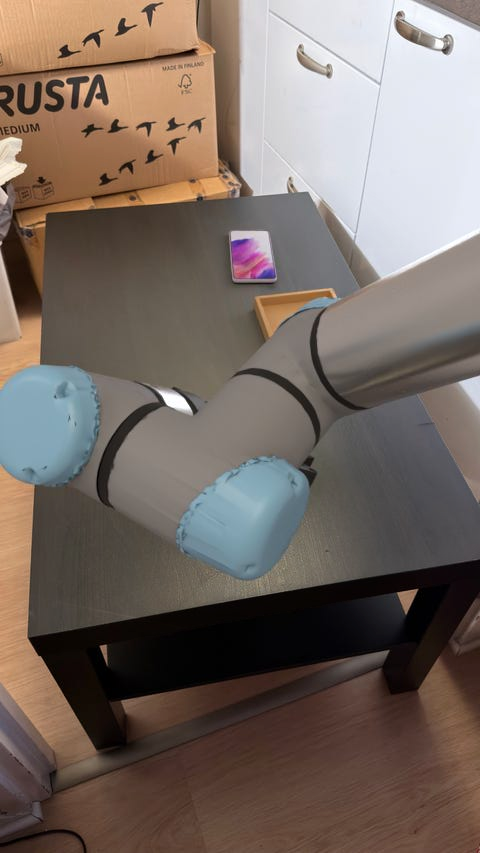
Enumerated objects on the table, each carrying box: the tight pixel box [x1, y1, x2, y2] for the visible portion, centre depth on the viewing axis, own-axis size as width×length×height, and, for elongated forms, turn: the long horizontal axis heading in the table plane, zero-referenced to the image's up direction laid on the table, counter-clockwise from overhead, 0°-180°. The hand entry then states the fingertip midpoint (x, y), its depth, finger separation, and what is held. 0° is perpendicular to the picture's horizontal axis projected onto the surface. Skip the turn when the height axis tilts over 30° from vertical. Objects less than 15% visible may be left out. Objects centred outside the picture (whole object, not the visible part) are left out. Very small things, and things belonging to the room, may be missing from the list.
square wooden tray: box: [253, 287, 338, 342], centre depth 91 cm, size 12×12×2 cm
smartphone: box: [228, 229, 278, 284], centre depth 104 cm, size 7×1×15 cm
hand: (255, 439), depth 71 cm, fingers open, 13 cm apart
